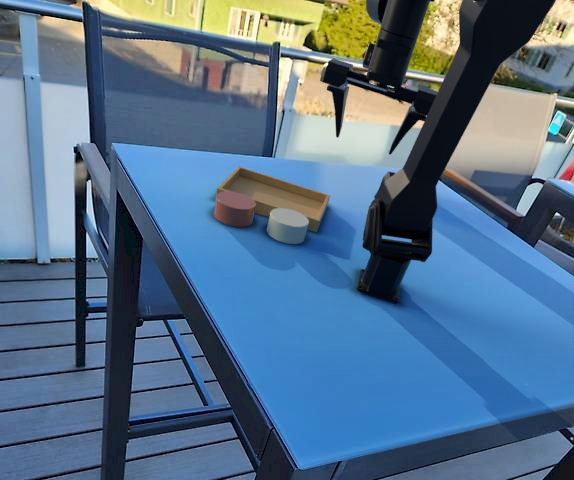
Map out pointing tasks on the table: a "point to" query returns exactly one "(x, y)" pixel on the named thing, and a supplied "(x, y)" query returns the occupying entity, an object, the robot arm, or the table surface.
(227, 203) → the reddish-brown short cylinder
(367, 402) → the table surface
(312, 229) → the serving tray
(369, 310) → the table surface
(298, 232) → the white short cylinder
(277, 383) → the table surface
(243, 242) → the table surface
